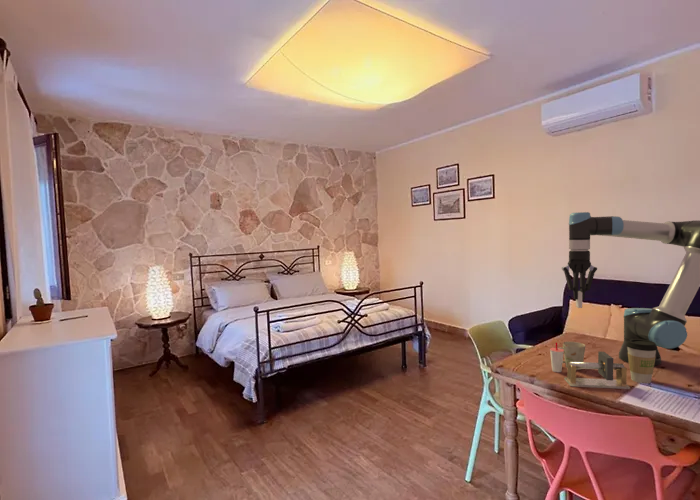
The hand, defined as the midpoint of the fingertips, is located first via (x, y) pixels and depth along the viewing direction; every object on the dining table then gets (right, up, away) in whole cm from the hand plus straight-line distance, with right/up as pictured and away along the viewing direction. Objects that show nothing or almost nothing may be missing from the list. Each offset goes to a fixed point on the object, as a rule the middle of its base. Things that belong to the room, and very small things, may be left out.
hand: (579, 307), depth 166 cm
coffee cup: (+18, -27, -11) cm, 34 cm away
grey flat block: (+2, -24, -14) cm, 28 cm away
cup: (-9, -27, +1) cm, 28 cm away
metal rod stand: (-1, -27, -13) cm, 30 cm away
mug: (-2, -26, +5) cm, 27 cm away
